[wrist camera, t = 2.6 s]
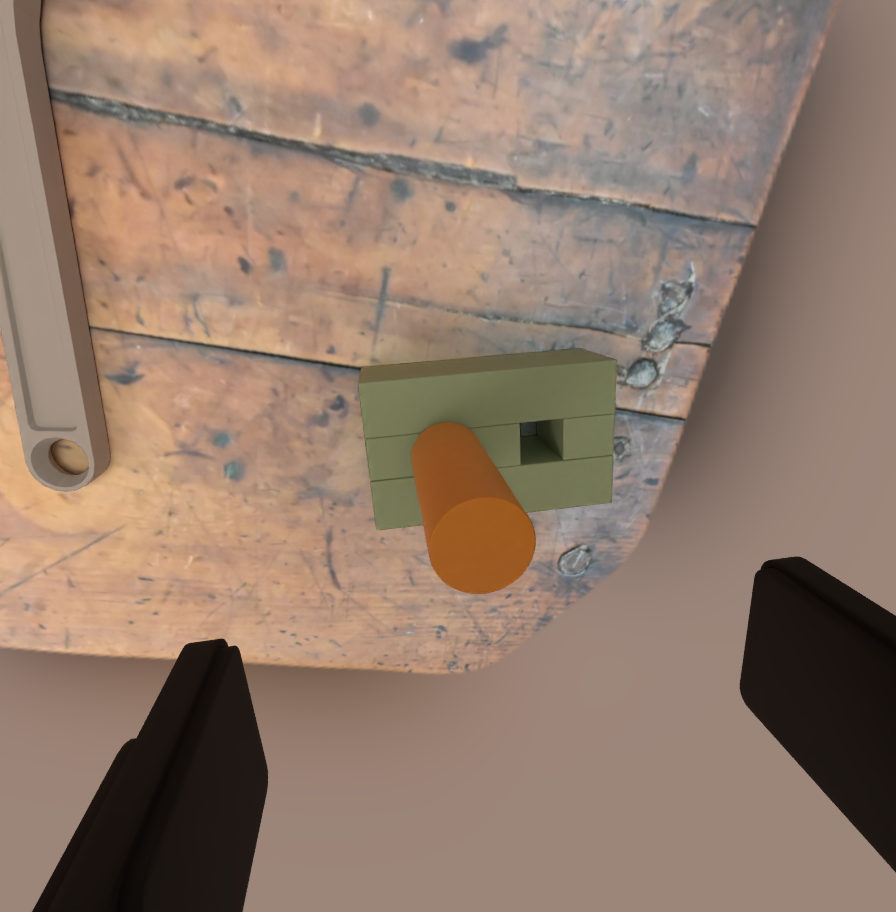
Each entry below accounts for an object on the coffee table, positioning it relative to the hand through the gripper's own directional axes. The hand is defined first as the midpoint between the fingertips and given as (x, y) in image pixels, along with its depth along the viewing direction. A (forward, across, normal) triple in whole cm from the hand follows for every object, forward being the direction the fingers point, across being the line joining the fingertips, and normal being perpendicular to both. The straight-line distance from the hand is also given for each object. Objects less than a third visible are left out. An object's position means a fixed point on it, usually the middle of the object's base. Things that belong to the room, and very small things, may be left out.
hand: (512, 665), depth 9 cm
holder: (+16, -2, 0) cm, 16 cm away
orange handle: (+16, 0, 0) cm, 16 cm away
